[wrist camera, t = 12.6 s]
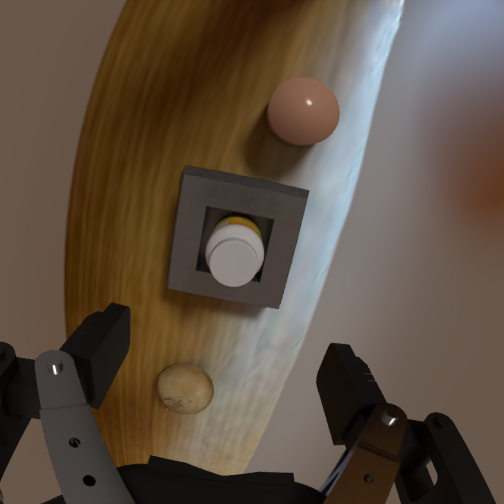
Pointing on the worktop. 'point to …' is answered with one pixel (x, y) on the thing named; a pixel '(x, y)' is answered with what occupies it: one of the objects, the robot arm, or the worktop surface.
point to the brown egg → (302, 112)
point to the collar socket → (220, 206)
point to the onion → (185, 388)
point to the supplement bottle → (235, 250)
